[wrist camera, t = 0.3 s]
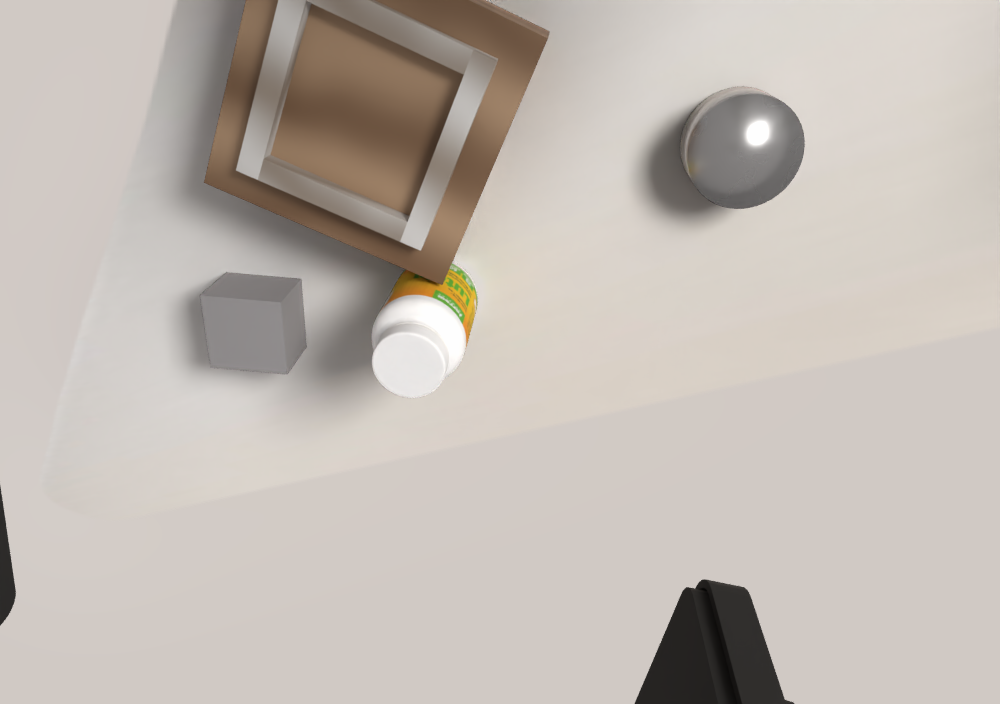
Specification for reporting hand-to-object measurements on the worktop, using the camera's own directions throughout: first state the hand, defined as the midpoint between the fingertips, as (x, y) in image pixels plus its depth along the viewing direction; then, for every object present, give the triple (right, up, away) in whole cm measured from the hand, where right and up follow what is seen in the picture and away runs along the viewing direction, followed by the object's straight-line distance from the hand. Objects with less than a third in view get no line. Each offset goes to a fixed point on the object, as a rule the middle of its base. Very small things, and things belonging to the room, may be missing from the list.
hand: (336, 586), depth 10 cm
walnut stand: (-4, +18, +31) cm, 36 cm away
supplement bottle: (-2, +7, +37) cm, 37 cm away
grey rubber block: (-13, +6, +38) cm, 41 cm away
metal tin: (+15, +15, +31) cm, 38 cm away
